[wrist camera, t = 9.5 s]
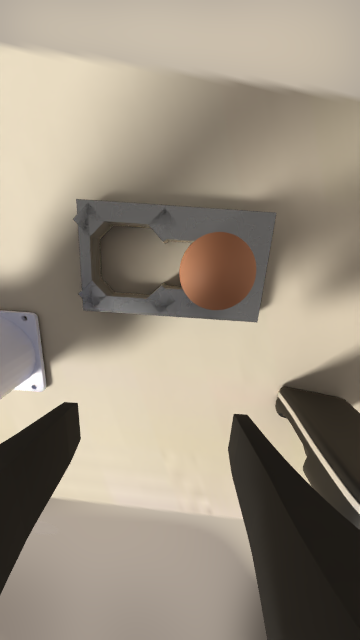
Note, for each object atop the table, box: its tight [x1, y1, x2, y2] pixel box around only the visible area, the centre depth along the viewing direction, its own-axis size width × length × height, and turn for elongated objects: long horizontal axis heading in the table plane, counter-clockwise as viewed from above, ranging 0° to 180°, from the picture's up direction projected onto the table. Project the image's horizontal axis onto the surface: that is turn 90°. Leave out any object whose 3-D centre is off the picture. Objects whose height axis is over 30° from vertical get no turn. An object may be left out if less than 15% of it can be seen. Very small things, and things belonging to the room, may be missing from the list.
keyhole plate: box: [73, 199, 276, 322], centre depth 17 cm, size 14×8×2 cm, turn 86°
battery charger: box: [275, 387, 360, 530], centre depth 16 cm, size 7×4×11 cm, turn 78°
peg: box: [179, 232, 256, 310], centre depth 15 cm, size 4×4×6 cm
